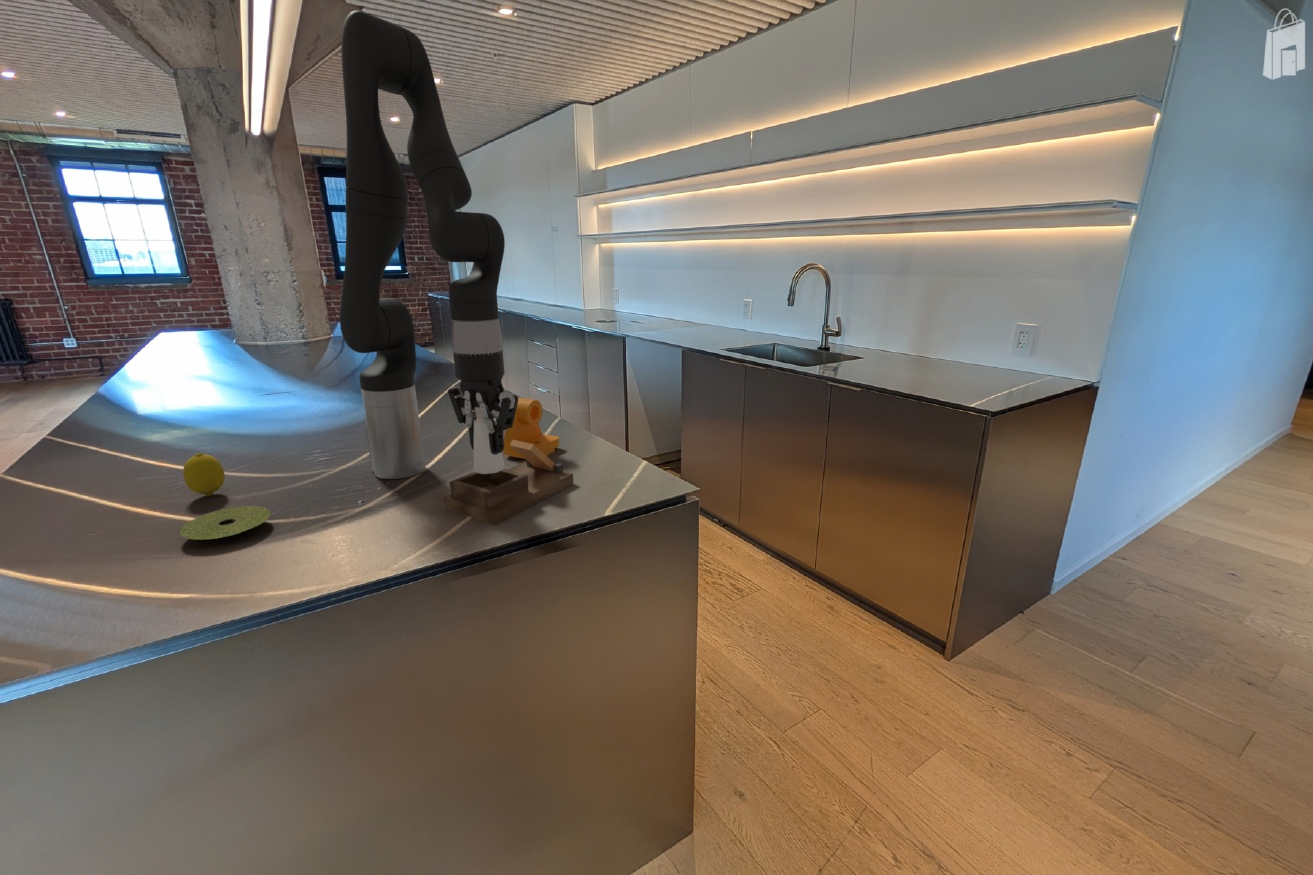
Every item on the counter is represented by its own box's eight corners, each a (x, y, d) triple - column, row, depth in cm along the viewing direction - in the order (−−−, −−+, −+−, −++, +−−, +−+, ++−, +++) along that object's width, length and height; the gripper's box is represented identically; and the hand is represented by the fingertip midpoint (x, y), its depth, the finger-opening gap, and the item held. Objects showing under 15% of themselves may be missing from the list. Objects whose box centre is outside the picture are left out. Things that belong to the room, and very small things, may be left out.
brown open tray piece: (444, 507, 95) (441, 480, 94) (525, 471, 112) (523, 447, 110) (495, 524, 90) (493, 496, 88) (573, 483, 106) (572, 458, 105)
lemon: (186, 504, 95) (174, 460, 93) (193, 492, 100) (182, 450, 98) (226, 498, 98) (215, 455, 95) (231, 487, 103) (221, 446, 100)
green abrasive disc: (262, 543, 83) (259, 531, 83) (169, 556, 79) (165, 544, 79) (280, 511, 93) (278, 501, 93) (199, 522, 89) (196, 511, 89)
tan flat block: (509, 445, 102) (512, 439, 102) (534, 467, 109) (538, 461, 109) (530, 450, 99) (533, 443, 100) (555, 472, 107) (558, 466, 107)
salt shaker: (510, 463, 97) (505, 401, 94) (499, 475, 92) (493, 410, 88) (480, 462, 97) (474, 400, 94) (467, 473, 92) (460, 409, 89)
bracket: (531, 463, 116) (528, 407, 112) (503, 458, 119) (499, 403, 115) (561, 448, 125) (559, 396, 122) (534, 443, 128) (531, 392, 125)
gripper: (528, 348, 88) (535, 451, 93) (464, 341, 95) (474, 438, 100) (493, 355, 82) (502, 465, 87) (427, 347, 89) (440, 450, 94)
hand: (487, 450), depth 94 cm, fingers closed on salt shaker, 3 cm apart
